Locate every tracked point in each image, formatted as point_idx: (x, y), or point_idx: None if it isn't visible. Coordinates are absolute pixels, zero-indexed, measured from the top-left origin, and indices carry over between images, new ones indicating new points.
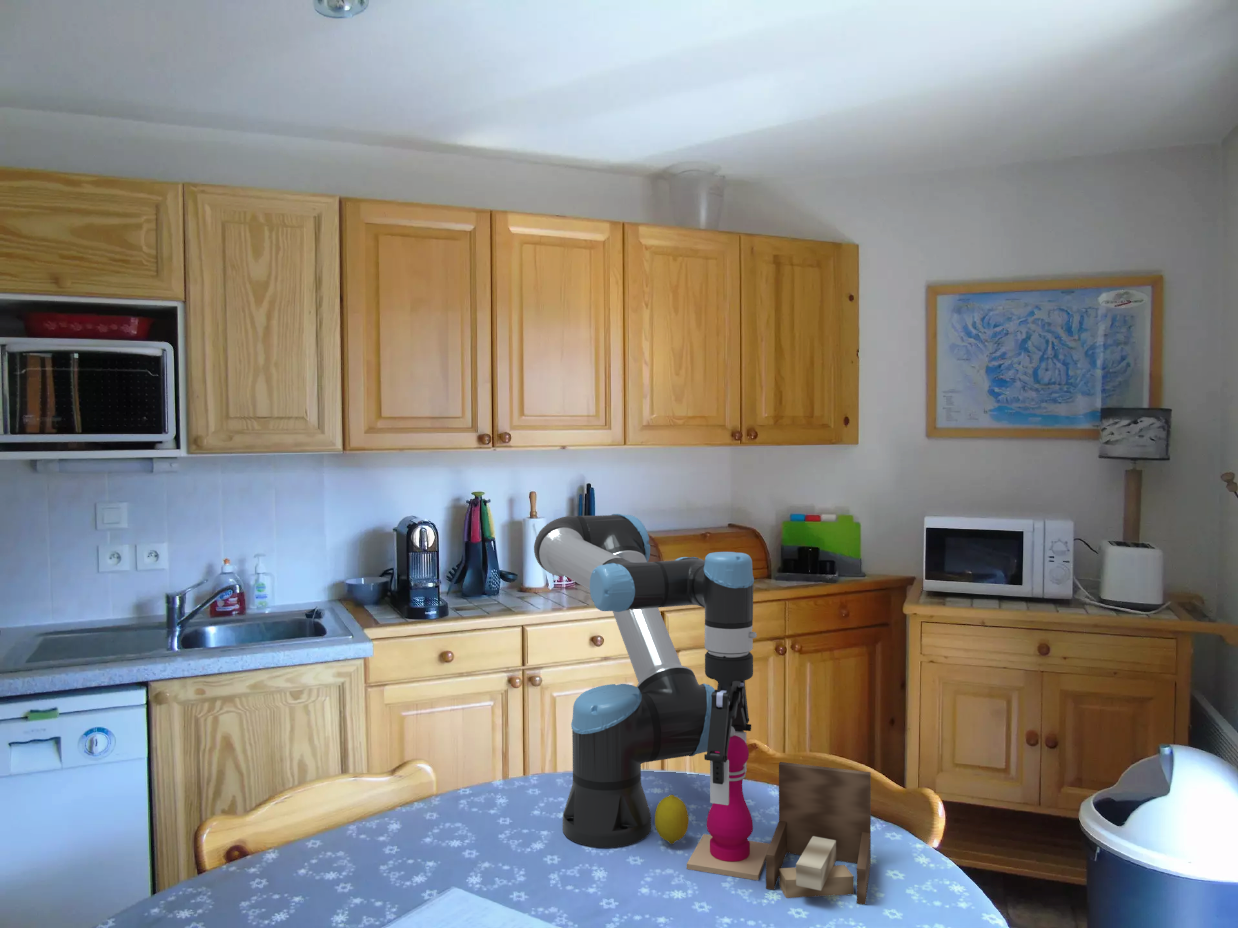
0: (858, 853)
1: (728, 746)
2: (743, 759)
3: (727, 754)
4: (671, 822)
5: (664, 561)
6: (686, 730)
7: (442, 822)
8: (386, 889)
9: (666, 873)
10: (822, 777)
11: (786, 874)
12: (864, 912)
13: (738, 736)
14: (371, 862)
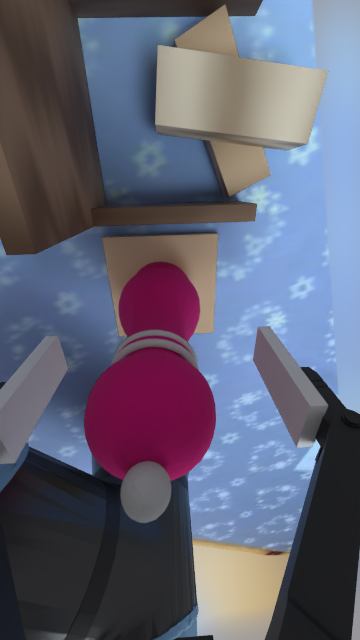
0: (70, 15)
1: (326, 452)
2: (184, 365)
3: (331, 427)
4: None
5: None
6: (41, 518)
7: (192, 511)
8: (304, 494)
9: (230, 345)
10: None
11: (249, 177)
12: None
13: (10, 428)
14: (268, 513)
